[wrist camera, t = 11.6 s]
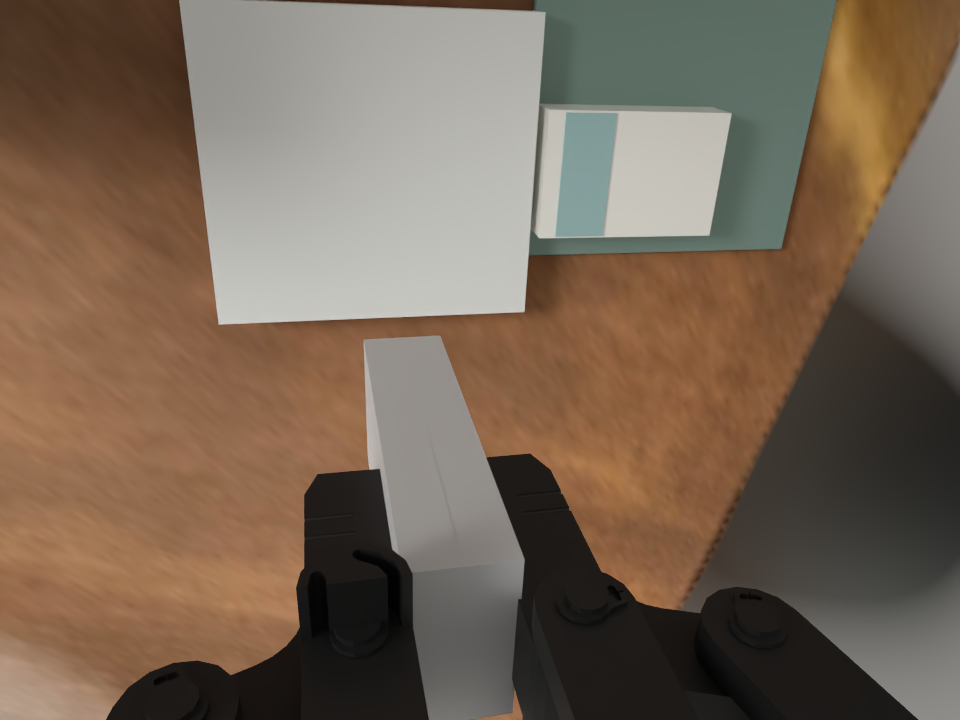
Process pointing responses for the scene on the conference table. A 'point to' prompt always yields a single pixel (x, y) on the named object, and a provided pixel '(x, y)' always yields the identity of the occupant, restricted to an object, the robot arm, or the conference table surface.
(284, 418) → the conference table surface
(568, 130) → the card
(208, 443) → the conference table surface
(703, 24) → the mat
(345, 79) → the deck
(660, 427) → the conference table surface
